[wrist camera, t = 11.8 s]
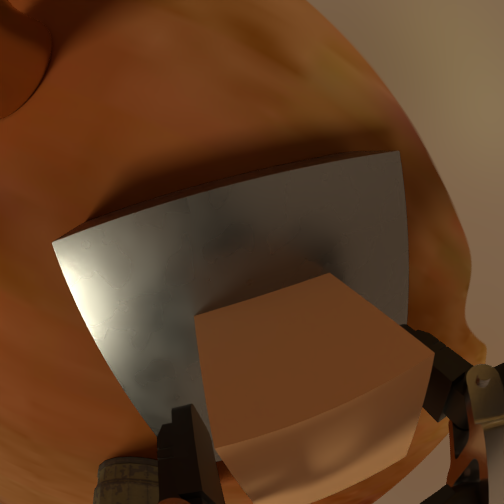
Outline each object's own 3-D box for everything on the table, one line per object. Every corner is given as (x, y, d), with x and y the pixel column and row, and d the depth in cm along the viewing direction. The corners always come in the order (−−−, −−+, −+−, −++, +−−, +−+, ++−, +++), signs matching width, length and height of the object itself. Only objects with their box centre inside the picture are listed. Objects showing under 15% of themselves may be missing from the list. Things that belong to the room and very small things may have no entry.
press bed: (84, 222, 12) (51, 242, 9) (350, 151, 14) (399, 150, 11) (179, 422, 17) (183, 468, 13) (368, 356, 19) (399, 388, 15)
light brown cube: (193, 315, 11) (214, 448, 5) (329, 272, 11) (434, 353, 6) (232, 409, 12) (265, 517, 7) (338, 371, 13) (405, 455, 8)
